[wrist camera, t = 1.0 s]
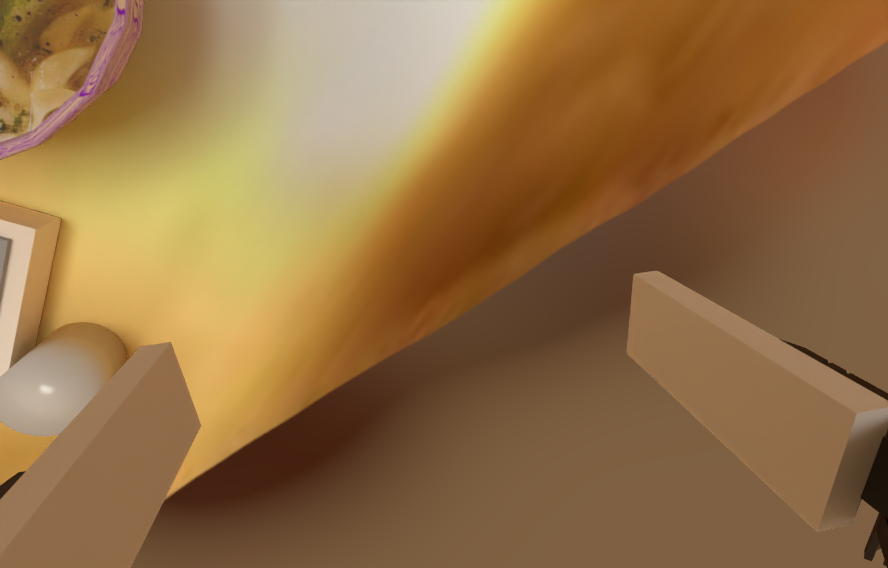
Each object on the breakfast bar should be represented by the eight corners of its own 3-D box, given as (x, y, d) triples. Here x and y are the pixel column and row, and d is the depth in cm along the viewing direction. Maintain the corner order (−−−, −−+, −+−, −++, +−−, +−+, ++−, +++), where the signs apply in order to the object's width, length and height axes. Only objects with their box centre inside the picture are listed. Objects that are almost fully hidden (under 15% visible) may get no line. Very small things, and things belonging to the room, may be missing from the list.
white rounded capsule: (51, 314, 31) (-4, 356, 26) (133, 332, 33) (98, 375, 27) (38, 375, 32) (-17, 428, 27) (118, 389, 34) (81, 442, 29)
